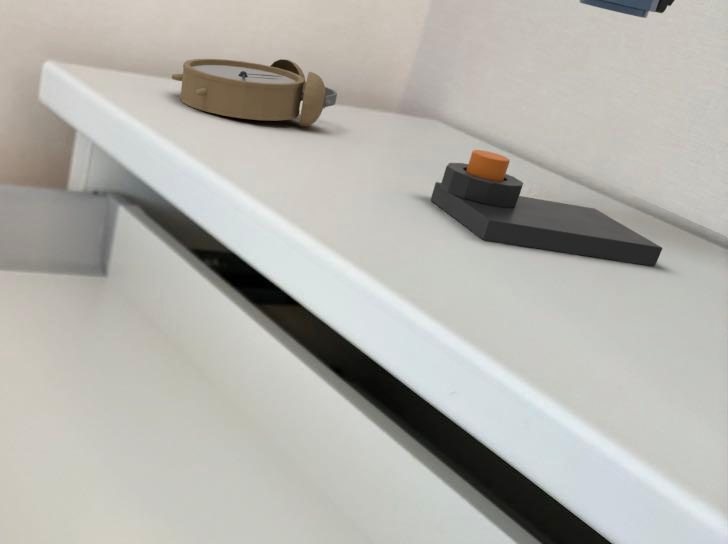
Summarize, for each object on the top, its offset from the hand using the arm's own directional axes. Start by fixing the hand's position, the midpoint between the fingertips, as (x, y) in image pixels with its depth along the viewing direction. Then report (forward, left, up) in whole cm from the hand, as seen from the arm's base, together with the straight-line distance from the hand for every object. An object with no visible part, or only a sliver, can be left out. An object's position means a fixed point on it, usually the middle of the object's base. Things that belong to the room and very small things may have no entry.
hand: (616, 1), depth 83 cm
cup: (0, 0, -1) cm, 1 cm away
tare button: (+10, +7, -13) cm, 17 cm away
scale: (+5, +9, -16) cm, 19 cm away
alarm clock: (+20, -21, -16) cm, 33 cm away
